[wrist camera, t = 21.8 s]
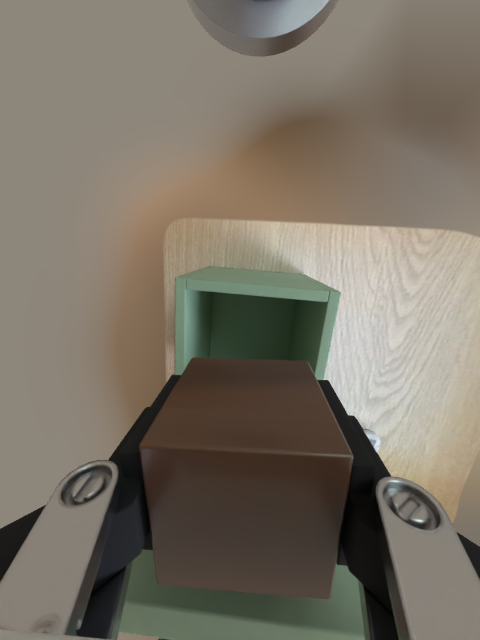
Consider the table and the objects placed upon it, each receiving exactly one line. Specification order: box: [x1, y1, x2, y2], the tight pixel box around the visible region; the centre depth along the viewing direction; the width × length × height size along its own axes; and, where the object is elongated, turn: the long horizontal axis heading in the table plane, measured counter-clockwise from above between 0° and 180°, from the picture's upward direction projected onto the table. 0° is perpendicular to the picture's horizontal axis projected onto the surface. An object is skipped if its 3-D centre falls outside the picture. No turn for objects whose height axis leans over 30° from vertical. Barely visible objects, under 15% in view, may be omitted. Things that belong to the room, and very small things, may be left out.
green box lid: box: [119, 549, 365, 640], centre depth 13 cm, size 13×12×5 cm
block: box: [139, 357, 353, 600], centre depth 8 cm, size 4×4×4 cm
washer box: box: [175, 266, 341, 380], centre depth 25 cm, size 13×12×13 cm
